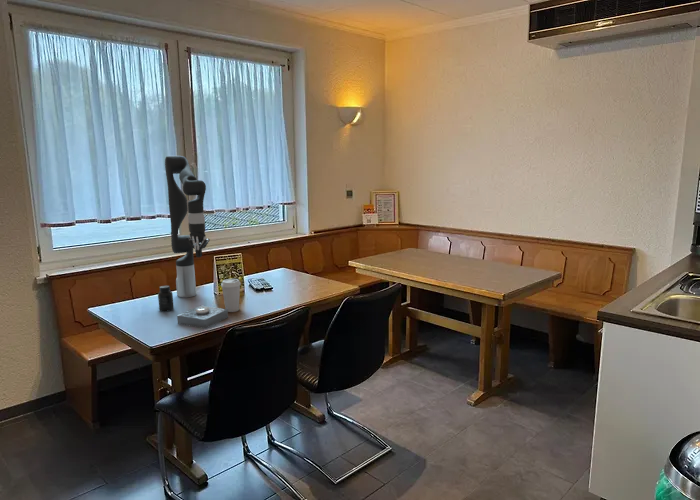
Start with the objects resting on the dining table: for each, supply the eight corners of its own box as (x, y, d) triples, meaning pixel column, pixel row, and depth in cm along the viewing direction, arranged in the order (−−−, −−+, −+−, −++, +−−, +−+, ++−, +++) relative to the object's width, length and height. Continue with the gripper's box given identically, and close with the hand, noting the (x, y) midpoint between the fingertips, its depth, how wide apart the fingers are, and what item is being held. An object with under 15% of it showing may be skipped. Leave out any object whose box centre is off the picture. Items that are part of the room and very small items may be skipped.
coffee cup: (232, 314, 239) (230, 284, 236) (218, 311, 244) (216, 281, 241) (246, 308, 247) (244, 279, 244) (232, 306, 252) (230, 277, 249)
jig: (177, 323, 227) (177, 315, 226) (201, 313, 241) (200, 305, 240) (205, 328, 220) (205, 319, 220) (228, 317, 235) (227, 309, 234)
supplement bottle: (176, 308, 249) (174, 285, 247) (167, 312, 243) (165, 288, 241) (165, 307, 252) (163, 284, 249) (156, 311, 245) (154, 287, 243)
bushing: (193, 320, 229) (192, 310, 228) (202, 316, 235) (201, 306, 234) (204, 322, 227) (203, 311, 226) (212, 318, 232) (212, 307, 231)
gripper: (180, 222, 239) (183, 257, 242) (202, 223, 233) (204, 259, 237) (191, 220, 245) (193, 254, 249) (212, 221, 240) (214, 256, 244)
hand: (199, 256), depth 243 cm, fingers closed
